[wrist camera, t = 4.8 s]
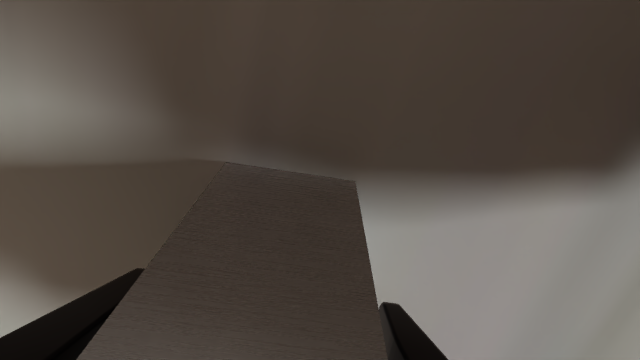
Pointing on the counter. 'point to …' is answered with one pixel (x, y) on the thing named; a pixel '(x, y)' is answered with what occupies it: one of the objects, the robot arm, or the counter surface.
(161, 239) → the counter surface
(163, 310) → the steel block
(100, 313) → the robot arm
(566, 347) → the counter surface
